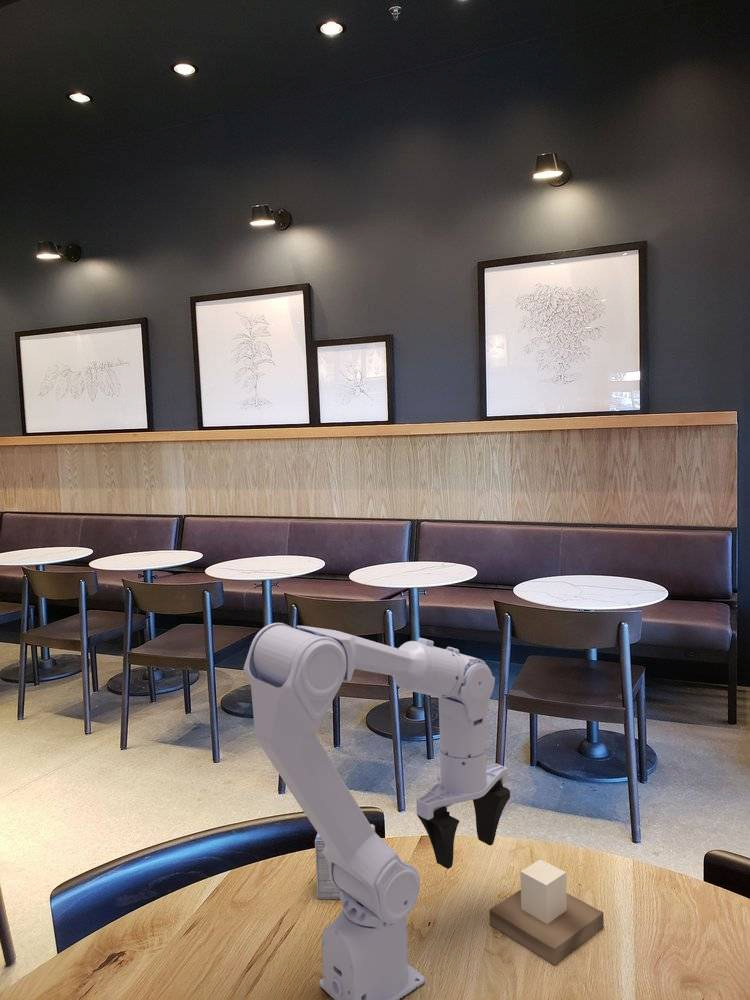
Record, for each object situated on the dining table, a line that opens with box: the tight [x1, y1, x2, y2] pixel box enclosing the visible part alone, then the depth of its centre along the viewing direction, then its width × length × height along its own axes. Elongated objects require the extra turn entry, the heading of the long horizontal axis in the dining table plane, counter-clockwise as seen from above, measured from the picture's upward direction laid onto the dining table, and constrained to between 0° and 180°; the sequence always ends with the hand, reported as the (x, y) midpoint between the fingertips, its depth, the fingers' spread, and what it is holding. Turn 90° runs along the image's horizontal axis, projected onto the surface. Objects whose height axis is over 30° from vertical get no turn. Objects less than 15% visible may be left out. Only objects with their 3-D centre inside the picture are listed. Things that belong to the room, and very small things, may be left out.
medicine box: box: [314, 823, 376, 900], centre depth 101 cm, size 8×4×9 cm, turn 84°
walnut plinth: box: [489, 889, 605, 966], centre depth 93 cm, size 10×10×2 cm
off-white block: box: [520, 859, 567, 924], centre depth 93 cm, size 4×4×5 cm
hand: (465, 853), depth 93 cm, fingers open, 7 cm apart
